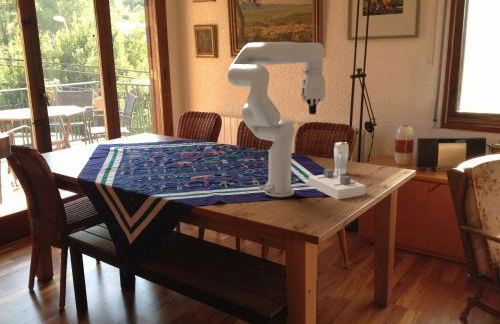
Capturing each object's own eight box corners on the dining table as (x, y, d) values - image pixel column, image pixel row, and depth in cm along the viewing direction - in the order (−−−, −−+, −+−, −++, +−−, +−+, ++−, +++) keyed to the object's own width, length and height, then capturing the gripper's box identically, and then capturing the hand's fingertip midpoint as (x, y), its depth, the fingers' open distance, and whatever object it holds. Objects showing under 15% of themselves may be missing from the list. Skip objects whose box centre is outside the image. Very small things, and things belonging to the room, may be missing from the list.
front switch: (344, 184, 191) (344, 178, 191) (339, 182, 194) (340, 176, 193) (350, 183, 193) (350, 177, 192) (345, 181, 195) (346, 175, 195)
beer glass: (347, 175, 220) (349, 145, 217) (332, 174, 222) (334, 144, 218) (347, 171, 227) (348, 142, 223) (333, 171, 228) (334, 141, 225)
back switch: (327, 177, 202) (328, 171, 201) (323, 175, 205) (323, 169, 204) (333, 176, 203) (333, 170, 202) (329, 174, 206) (329, 168, 205)
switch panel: (337, 199, 186) (338, 189, 185) (308, 185, 205) (308, 176, 204) (364, 194, 192) (365, 185, 191) (333, 181, 211) (334, 172, 210)
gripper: (303, 73, 194) (302, 116, 198) (332, 72, 200) (331, 114, 205) (294, 72, 200) (293, 114, 205) (323, 71, 207) (321, 111, 211)
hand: (312, 113), depth 205 cm, fingers closed
